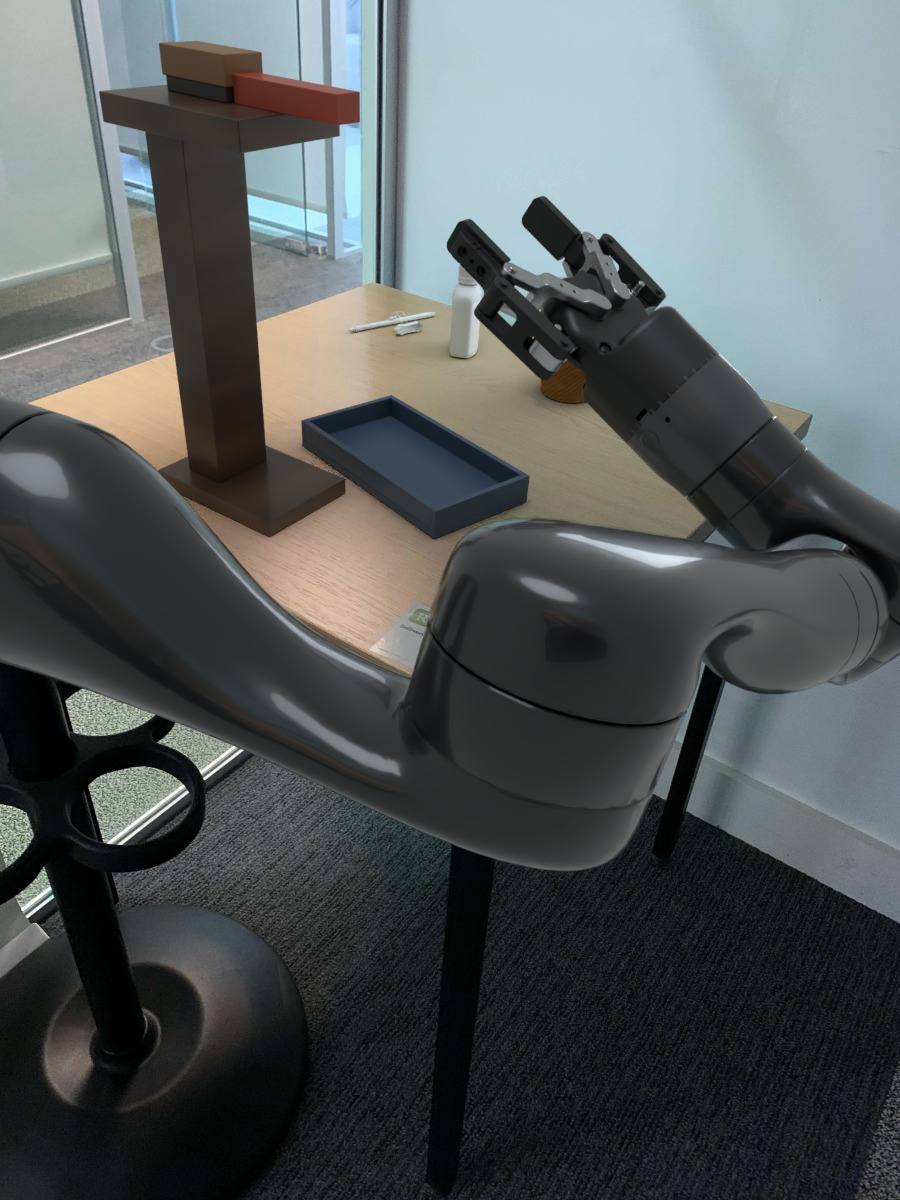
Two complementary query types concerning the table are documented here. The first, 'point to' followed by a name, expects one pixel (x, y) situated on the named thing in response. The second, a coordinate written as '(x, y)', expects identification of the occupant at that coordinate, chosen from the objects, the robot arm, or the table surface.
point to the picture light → (401, 327)
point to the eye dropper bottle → (465, 316)
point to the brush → (251, 83)
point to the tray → (415, 464)
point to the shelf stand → (219, 300)
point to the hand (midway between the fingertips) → (494, 218)
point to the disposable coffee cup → (564, 382)
